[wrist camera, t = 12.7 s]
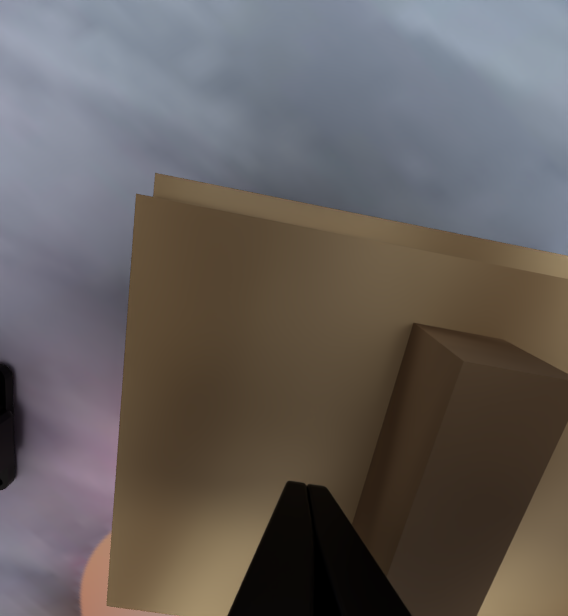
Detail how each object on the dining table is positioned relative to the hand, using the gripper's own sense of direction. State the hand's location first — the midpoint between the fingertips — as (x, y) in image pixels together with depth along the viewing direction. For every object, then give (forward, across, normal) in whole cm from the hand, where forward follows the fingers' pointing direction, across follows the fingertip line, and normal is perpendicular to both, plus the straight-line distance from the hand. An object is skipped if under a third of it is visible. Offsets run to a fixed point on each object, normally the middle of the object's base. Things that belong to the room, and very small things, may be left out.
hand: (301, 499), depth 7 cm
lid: (+2, -3, 0) cm, 3 cm away
